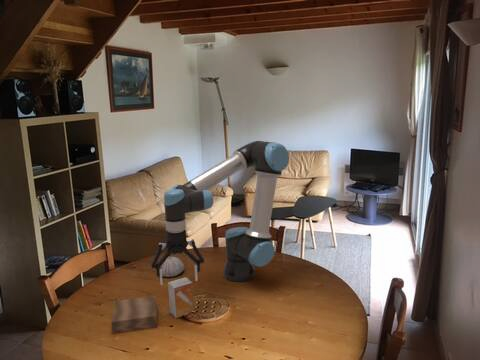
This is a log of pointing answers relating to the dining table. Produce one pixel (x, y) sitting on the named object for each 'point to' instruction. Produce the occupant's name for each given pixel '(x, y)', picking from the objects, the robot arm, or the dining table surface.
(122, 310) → the walnut block
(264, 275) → the dining table surface
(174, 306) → the small box
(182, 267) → the sea urchin shell
